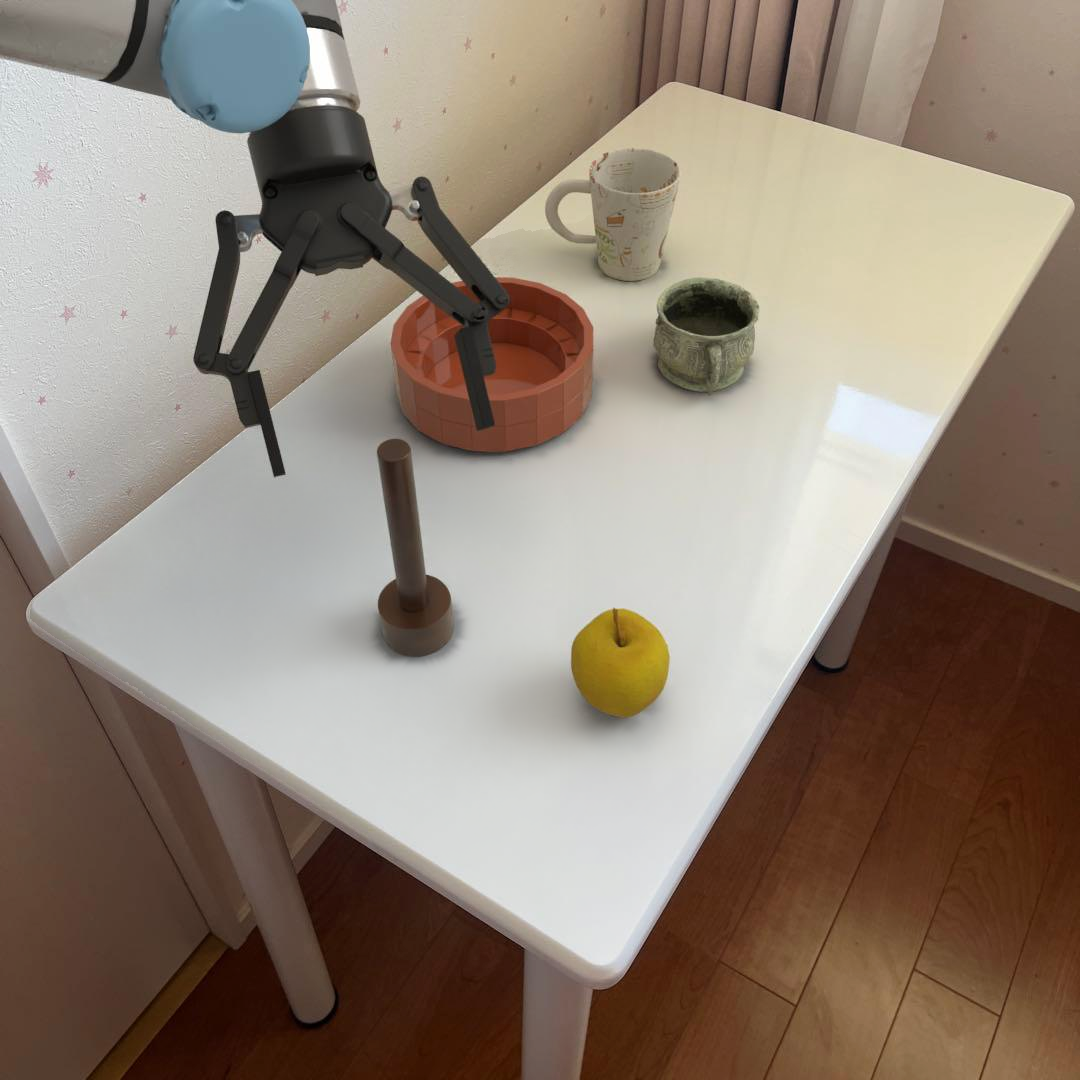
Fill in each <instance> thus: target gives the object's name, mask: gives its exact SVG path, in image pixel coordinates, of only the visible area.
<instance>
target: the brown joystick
mask: <svg viewBox="0 0 1080 1080" xmlns="http://www.w3.org/2000/svg"><path fill="white" fill-rule="evenodd" d="M376 456H377V463H378V470H379V476H380V482H381V489H382V496H383V497H382V498H383V502H384V509H385V516H386V522H387V528H388V529H387V530H388V534H389V541H390V546H391V547H390V549H391V554H392V561H393V568H394V575H395V579H393V580H391V581H390V582H388V583H387V584H386V585H385V586H384V587H383V588H382V589H381V592H380V593H379V595H378V598H377V609H378V616H379V621H380V626H381V627H380V628H381V634H382V637H383V640H384V642H385V643H386V645H387V646H388V647H389V648H390V649H391V650H392V651H394V652H396V653H398V654H400V655H403V656H407V657H424V656H428V655H431V654H434V653H435V652H438V651H439V650H441V649H442V648H443V647H445V645H447V643H448V642H449V641H450V640H451V638H452V635H453V633H454V626H455V625H454V615H453V606H452V605H453V604H452V596H451V592H450V590H449V588H448V586H447V585H446V584H445V583H444V582H443V581H442V580H440V579H438V578H437V577H436V576H433V575H429V574H427V573H426V564H425V563H426V562H425V556H424V555H425V554H424V548H423V540H422V539H423V538H422V531H421V523H420V515H419V506H418V499H417V498H418V497H417V490H416V484H415V483H416V482H415V473H414V467H413V458H412V449H411V445H410V444H409V442H407V441H406V440H403V439H401V438H389V439H386V440H383V441H382V442H381V443H379V445H378V446H377V449H376Z"/></svg>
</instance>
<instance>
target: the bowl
mask: <svg viewBox="0 0 1080 1080" xmlns="http://www.w3.org/2000/svg"><path fill="white" fill-rule="evenodd" d="M494 277H495V278H496V279H497V281H498V282H499V283H500V284H501V286H502V287H503V288H504V289H505V291H506V292H507V293H508V295H509V297H510V303H509V305H508V306H507V307H506V308H505V309H504V310H503V311H502V312H501V313H500V314H498V315H496V316H495V317H493V318H492V319H490V320H489V322H488V331H489V335H490V340H491V344H492V348H493V352H494V356H495V361H496V370H495V373H493V374H492V375H489V376H485V377H484V381H485V385H486V389H487V393H488V397H489V402H490V406H491V410H492V414H493V418H494V422H495V425H494V426H492V427H490V428H488V429H484V430H480V431H477V429H476V425H475V421H474V417H473V412H472V408H471V404H470V400H469V396H468V392H467V387H466V383H465V379H464V375H463V371H462V367H461V362H460V358H459V354H458V350H457V346H456V342H455V337H454V335H455V334H456V333H457V332H458V331H459V329H460V328H464V327H463V326H462V325H461V324H459V323H458V322H457V321H455V320H454V319H453V318H452V317H450V316H449V315H448V314H446V313H445V312H444V311H443V310H441V309H440V308H439V307H437V306H436V305H435V304H434V303H432V302H431V301H430V300H428V299H427V298H426V297H425V296H423V295H421V296H420V297H418V298H417V299H416V300H414V301H413V302H411V303H410V304H409V305H407V306H406V307H405V309H404V310H403V311H402V312H401V314H400V315H399V317H398V318H397V319H396V321H394V324H393V327H392V331H391V332H392V333H391V337H390V341H389V343H390V344H389V345H390V352H391V353H390V354H391V361H392V368H393V369H392V370H393V377H394V384H395V392H396V396H397V400H398V404H399V406H400V409H401V413H402V414H403V416H404V417H405V418H406V420H408V421H409V422H410V423H411V424H412V425H413V426H414V428H415V429H416V430H417V431H418V432H420V433H422V434H424V435H425V436H428V437H430V438H431V439H433V440H434V441H437V442H439V443H441V444H443V445H446V446H450V447H454V448H459V449H463V450H466V451H471V452H501V453H502V452H503V453H504V452H510V451H514V450H520V449H525V448H530V447H534V446H538V445H540V444H543V443H545V442H547V441H549V440H551V439H553V438H556V437H558V436H560V435H562V434H564V433H565V432H566V431H567V430H568V429H569V428H570V427H572V426H573V425H575V423H576V422H577V421H578V420H580V418H582V416H583V415H584V413H585V410H586V408H587V407H588V405H589V402H590V401H591V399H592V394H593V393H592V392H593V369H594V346H595V345H594V326H593V323H592V322H591V320H590V318H589V316H588V315H587V312H586V311H585V308H583V307H582V306H581V305H579V304H578V303H577V302H576V301H575V300H573V298H571V297H570V296H569V295H567V294H566V293H564V292H561V291H560V290H557V289H555V288H552V287H550V286H548V285H545V284H543V283H542V282H537V281H532V280H527V279H522V278H518V277H506V276H505V277H503V276H500V277H499V276H497V277H496V276H494ZM451 283H452V284H453V285H455V286H456V287H457V288H458V289H460V290H461V291H462V292H463V293H465V294H466V295H467V296H469V297H470V298H471V299H472V300H474V301H475V302H476V303H477V304H478V303H480V302H479V301H478V300H477V298H476V297H475V296H474V295H473V293H472V292H471V291H470V290H469V288H468V287H467V286H466V285H465V283H464V282H463V281H462V280H460V281H454V282H451Z"/></svg>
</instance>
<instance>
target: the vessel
mask: <svg viewBox="0 0 1080 1080" xmlns="http://www.w3.org/2000/svg"><path fill="white" fill-rule="evenodd" d="M656 311H657V314H658V315H657V318H656V319H655V325H656V326H655V329H654V335H653V347H654V349H655V351H656V353H657V355H658V362H657V368H658V369H659V371H660V373H661V375H662V376H663V377H664V378H665V379H667V380H668V381H669V382H671V383H672V385H676V386H679V387H680V388H683V389H685V390H689V391H693V392H701V393H705V392H706V393H707V395H708V396H712V395H713V394H714V392H715V391H720V390H723V389H726V388H728V387H730V386H731V385H733V384H734V383H736V382H737V381H738V380H739V379H740V378H741V377H742V375H743V374H744V371H745V364H746V363H747V362H748V361H749V359H750V358H751V357H752V355H753V353H754V349H755V340H756V329H755V324H756V323H757V322H758V321H759V316H760V314H759V313H760V305H759V303H758V301H757V300H756V299H755V297H754V296H753V294H752V293H751V292H750V291H748V290H747V289H745V288H743V287H742V286H740V285H738V284H736V283H732V282H730V281H727V280H724V279H719V278H713V277H692V278H686V279H682V280H679V281H677V282H675V283H673V284H672V285H670V286H668V287H667V288H665V289H664V290H663V291H662V292H661V293H660V295H659V296H658V298H657V302H656Z"/></svg>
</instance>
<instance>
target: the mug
mask: <svg viewBox="0 0 1080 1080" xmlns="http://www.w3.org/2000/svg"><path fill="white" fill-rule="evenodd" d="M588 173H589V175H588V179H581V178H580V179H579V178H577V179H576V178H575V179H574V178H573V179H566V180H563V181H561V182H559V183H558V184H557V185H556V186H555V187H553V188H552V189H551V191H550V192H549V194H548V196H547V198H546V200H545V205H544V213H545V214H544V215H545V219H546V220H547V223H548V225H549V226H550V228H551V229H552V230H553V231H554V232H555V233H556V234H558V236H560V237H561V238H563V239H564V240H566V241H568V242H571V243H574V244H580V245H581V244H582V245H584V244H585V245H591V244H592V245H593V244H596V245H595V246H596V255H597V262H598V267H599V269H600V270H601V271H602V272H603V273H604V274H605V275H607V276H608V277H610V278H612V279H615V280H617V281H624V282H625V281H626V282H637V281H642V280H645V279H648V278H650V277H652V276H654V275H655V274H656V273H657V272H658V270H659V269H660V265H661V262H662V259H663V253H664V249H665V245H666V241H667V237H668V233H669V228H670V223H671V220H672V215H673V211H674V207H675V203H676V198H677V194H678V191H679V185H680V182H681V181H680V180H681V169H680V166H679V164H678V163H677V162H676V161H675V160H674V159H673V158H672V157H670V156H669V155H667V154H664V153H662V152H660V151H657V150H653V149H648V148H643V147H642V148H641V147H625V148H618V149H613V150H610V151H606V152H605V153H602V154H600V155H599V156H598V157H596V158H595V159H594V160H593V161H592V162H591V164H590V166H589V171H588ZM572 193H573V194H574V193H578V194H579V193H580V194H589V195H590V199H591V206H592V216H593V225H594V234H595V235H591V234H582V233H581V234H579V233H574V232H572V231H571V230H569V229H568V228H567V226H566V225H564V223H563V222H562V219H561V218H560V215H559V205H560V203H561V201H563V199H564V198H565V197H566V196H567V195H569V194H572Z"/></svg>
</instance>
